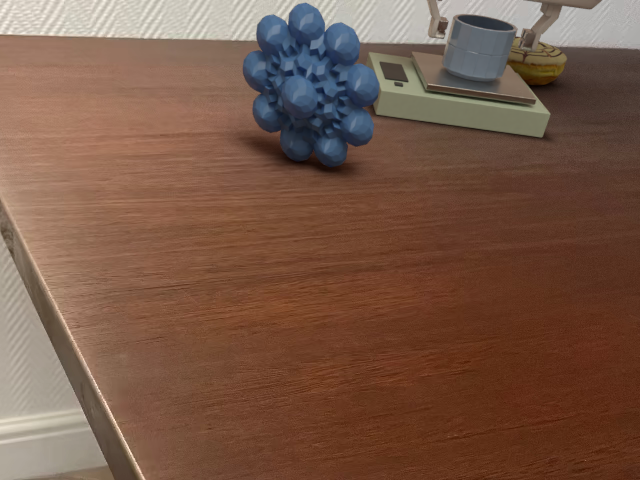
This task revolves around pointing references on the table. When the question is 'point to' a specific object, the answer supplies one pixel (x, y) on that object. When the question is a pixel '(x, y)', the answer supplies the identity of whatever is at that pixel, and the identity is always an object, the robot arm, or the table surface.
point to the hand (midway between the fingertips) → (480, 43)
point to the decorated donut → (537, 63)
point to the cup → (478, 47)
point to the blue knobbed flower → (311, 85)
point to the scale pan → (470, 82)
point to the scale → (448, 102)
